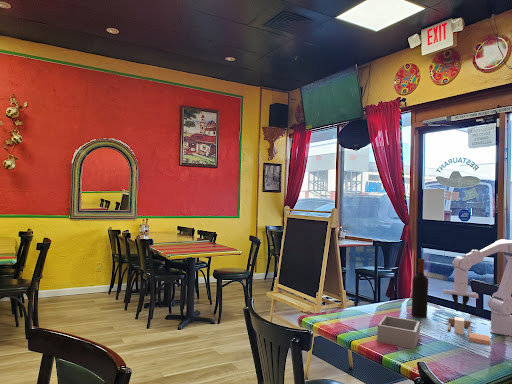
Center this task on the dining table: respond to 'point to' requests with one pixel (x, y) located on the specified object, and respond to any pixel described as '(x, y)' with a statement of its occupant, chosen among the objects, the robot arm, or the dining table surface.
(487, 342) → the tile
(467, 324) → the frame
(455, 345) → the dining table surface
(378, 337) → the box
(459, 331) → the block
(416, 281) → the wine bottle
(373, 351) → the dining table surface
